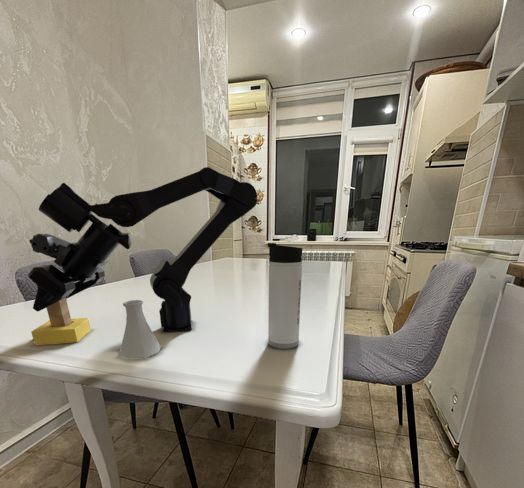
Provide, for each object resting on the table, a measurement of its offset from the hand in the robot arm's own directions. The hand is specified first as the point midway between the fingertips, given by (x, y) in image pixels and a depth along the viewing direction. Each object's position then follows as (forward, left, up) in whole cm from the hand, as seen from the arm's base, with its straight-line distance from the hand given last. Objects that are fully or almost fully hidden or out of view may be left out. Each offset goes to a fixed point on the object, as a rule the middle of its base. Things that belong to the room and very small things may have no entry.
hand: (49, 304), depth 61 cm
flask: (-19, +12, -8) cm, 24 cm away
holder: (-1, 0, -7) cm, 8 cm away
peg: (-2, 0, -7) cm, 8 cm away
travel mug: (-47, +13, -8) cm, 50 cm away
